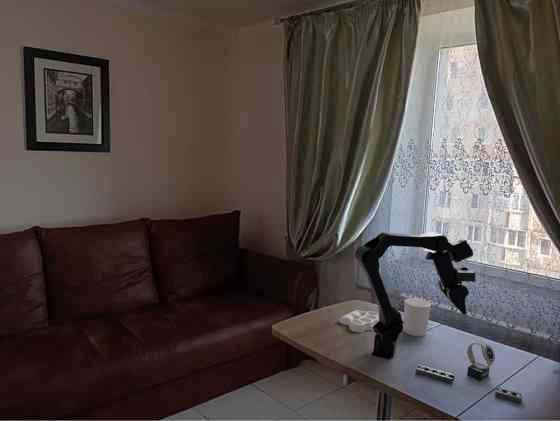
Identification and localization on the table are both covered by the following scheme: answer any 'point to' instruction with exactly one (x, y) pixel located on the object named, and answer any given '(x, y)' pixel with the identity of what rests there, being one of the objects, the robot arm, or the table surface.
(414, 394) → the table surface
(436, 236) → the robot arm
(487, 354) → the watch
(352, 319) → the white lumpy slab
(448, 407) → the table surface
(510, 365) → the table surface
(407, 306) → the candle holder
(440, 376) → the perforated metal strips
